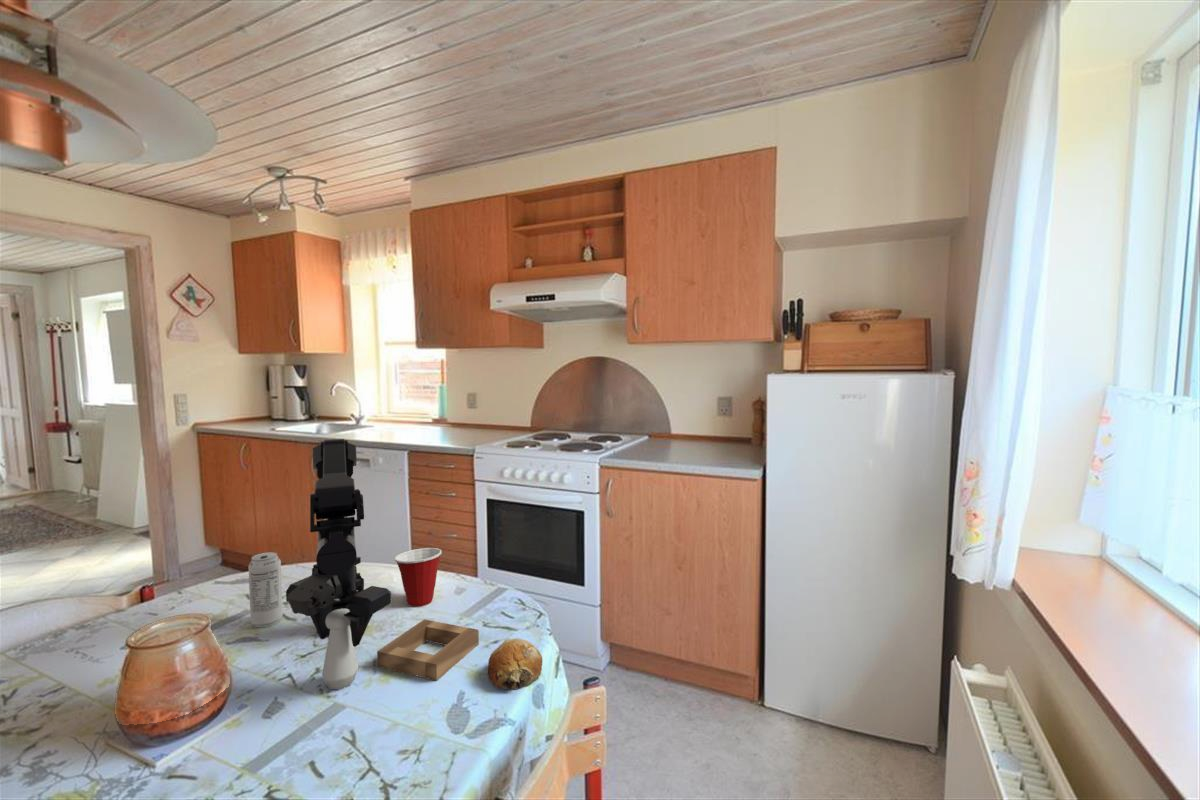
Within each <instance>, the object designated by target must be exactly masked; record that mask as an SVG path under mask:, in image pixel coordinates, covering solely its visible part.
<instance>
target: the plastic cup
mask: <svg viewBox="0 0 1200 800" xmlns="http://www.w3.org/2000/svg"><path fill="white" fill-rule="evenodd" d="M441 555H442V549H440V548H438V547H424V548H417V549H411V550H406V551H404V552H401V553H399V554H397V555H395V556H394V561H395V562H396V564H397V567H398V569H399V572H400V577H401V581H402V587H403V591H404V595H405V598H406V602H407V605H408V606H409V607H414V608H415V607H416V608H417V607H424V606H427V605H429V604H430V603H432V602H433V599H434V595H435V594H434V593H435V587H436V583H437V582H436V581H437V573H438V567H439V561H440V557H441Z"/></svg>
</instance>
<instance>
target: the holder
mask: <svg viewBox="0 0 1200 800" xmlns="http://www.w3.org/2000/svg"><path fill="white" fill-rule="evenodd" d="M479 634H480V633H479V629H477V628H471V627H467V626H466V627H465V626H461V625H457V624H451V623H445V622H440V621H434V620H429V619H422V620H421V621H420V622H418V623H416V625H414V626H412V627H411V628H409V629H408V630H406V631H404V633H402V634H400V635H399V636H397V637H396V638H394V639H393V640H392V641H390V642H389V643H387V644H386V645H384V646H383V647H381V648H379V649H378V650H377V651H376V653H377V656H376V657H377V659H376V660H377V661H376V662H377V668H382V669H386V670H390V671H393V672H398V673H403V674H408V675H411V674H412V676H415V675H418V676H417V677H419V676H421V677H420V678H423V677H424V679H427V678H429V679H428V680H432V679H433V680H432V681H436V680H437V681H439V680H440V679H441V678H442V677H443V676H444V675H445V674H447V672H449V671H450V670H451V669H452V668H454V667H455V666H456V665H457V664H458V663H459V662H461V660H462V659H464V658H465V657H466V656H467V655H468V654H469V653H471V651H473V650H474V649H475V648H476V647H477V646H478V645H479V643H480V641H479V640H480V639H479V638H480V637H479ZM426 642H430V643H431V642H432V643H434V642H435V643H436V644H440V645H444V646H443V647H442V648H441V649H440V650H438V651H437V652H435V653H434V654H432V653H427V652H424V651H423V652H422V651H419V650H416V649H418V648H419V647H421V646H423V644H424V643H426ZM439 678H440V679H439Z"/></svg>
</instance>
